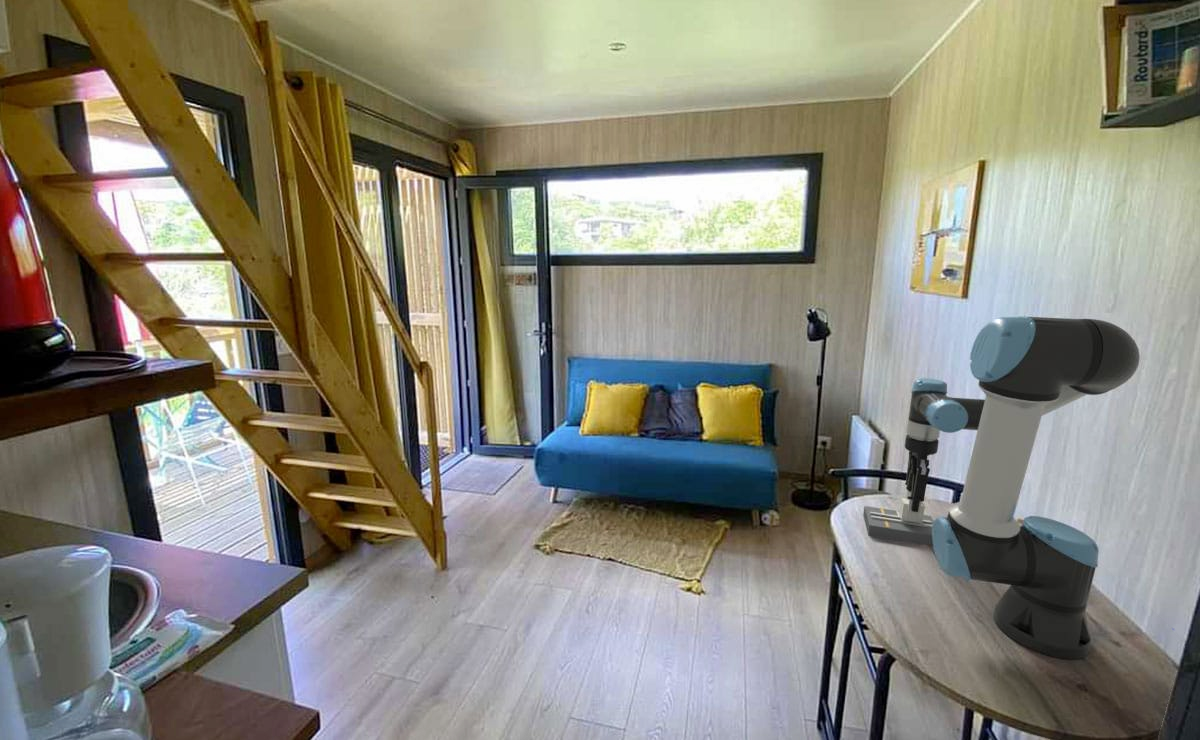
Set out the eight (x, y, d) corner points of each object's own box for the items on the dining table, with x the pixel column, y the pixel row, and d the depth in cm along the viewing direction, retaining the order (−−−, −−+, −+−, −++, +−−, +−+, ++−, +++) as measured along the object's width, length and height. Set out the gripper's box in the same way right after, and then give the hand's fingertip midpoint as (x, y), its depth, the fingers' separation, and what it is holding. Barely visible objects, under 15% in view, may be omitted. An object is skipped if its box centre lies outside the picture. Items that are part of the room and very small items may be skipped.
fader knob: (921, 525, 143) (924, 506, 142) (901, 522, 145) (903, 503, 144) (919, 519, 147) (921, 500, 145) (898, 516, 148) (901, 497, 147)
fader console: (939, 547, 139) (941, 535, 138) (868, 535, 145) (869, 523, 144) (929, 525, 150) (931, 514, 149) (863, 515, 156) (864, 504, 155)
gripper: (946, 449, 132) (933, 534, 137) (931, 428, 147) (919, 506, 152) (912, 445, 134) (900, 529, 139) (901, 425, 150) (890, 502, 155)
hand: (910, 517), depth 146 cm, fingers closed on fader knob, 4 cm apart
